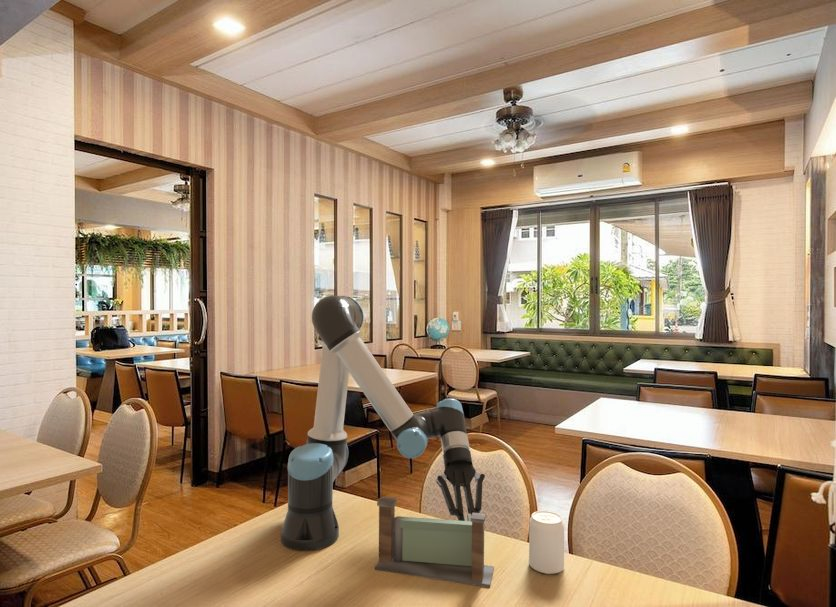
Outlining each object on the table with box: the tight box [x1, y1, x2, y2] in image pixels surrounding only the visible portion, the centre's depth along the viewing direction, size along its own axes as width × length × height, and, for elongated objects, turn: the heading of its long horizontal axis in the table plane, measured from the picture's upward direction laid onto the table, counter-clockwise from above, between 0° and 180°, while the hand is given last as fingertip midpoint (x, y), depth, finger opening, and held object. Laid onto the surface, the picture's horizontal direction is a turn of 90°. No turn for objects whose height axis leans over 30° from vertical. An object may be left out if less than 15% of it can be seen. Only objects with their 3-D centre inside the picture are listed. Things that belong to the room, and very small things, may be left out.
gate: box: [394, 515, 472, 566], centre depth 120 cm, size 2×22×10 cm, turn 82°
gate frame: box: [374, 496, 495, 588], centre depth 118 cm, size 8×28×15 cm, turn 75°
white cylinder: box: [528, 510, 565, 575], centre depth 120 cm, size 8×8×12 cm
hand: (470, 543), depth 121 cm, fingers closed
